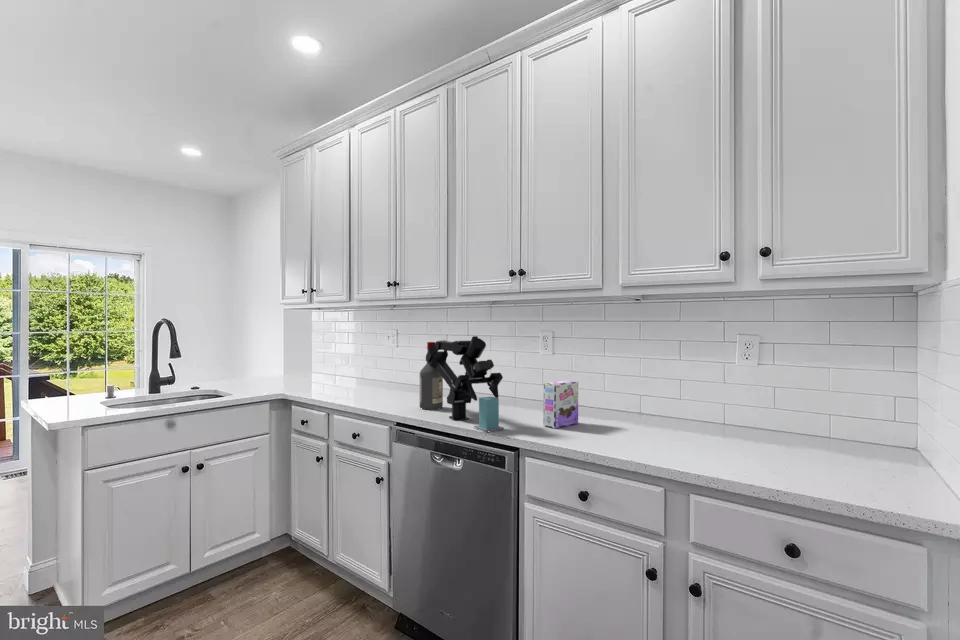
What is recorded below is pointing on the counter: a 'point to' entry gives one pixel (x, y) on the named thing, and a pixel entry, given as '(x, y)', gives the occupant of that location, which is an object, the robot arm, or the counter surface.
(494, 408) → the teal rectangular block
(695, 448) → the counter surface
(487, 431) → the post stand
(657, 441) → the counter surface
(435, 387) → the liquor
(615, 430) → the counter surface
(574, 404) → the candy box
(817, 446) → the counter surface
